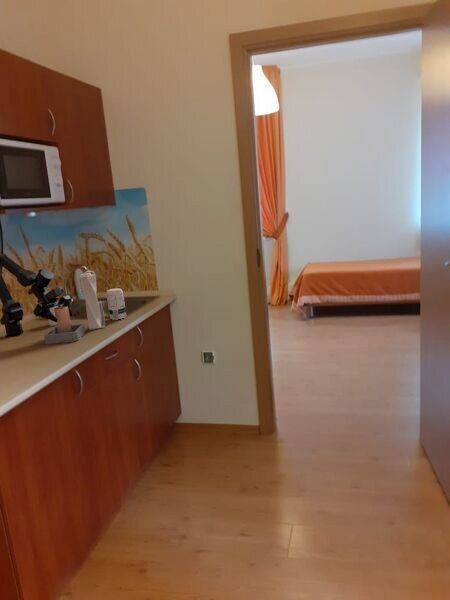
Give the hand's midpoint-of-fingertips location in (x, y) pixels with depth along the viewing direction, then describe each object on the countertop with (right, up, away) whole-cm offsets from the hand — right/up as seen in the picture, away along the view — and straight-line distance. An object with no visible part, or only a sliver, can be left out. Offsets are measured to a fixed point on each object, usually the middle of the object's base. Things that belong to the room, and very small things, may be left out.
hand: (64, 318), depth 212 cm
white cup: (-15, -4, +31) cm, 35 cm away
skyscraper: (+10, -5, +16) cm, 19 cm away
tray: (0, -9, +2) cm, 9 cm away
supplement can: (+17, -1, +31) cm, 35 cm away
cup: (0, -8, +2) cm, 8 cm away
